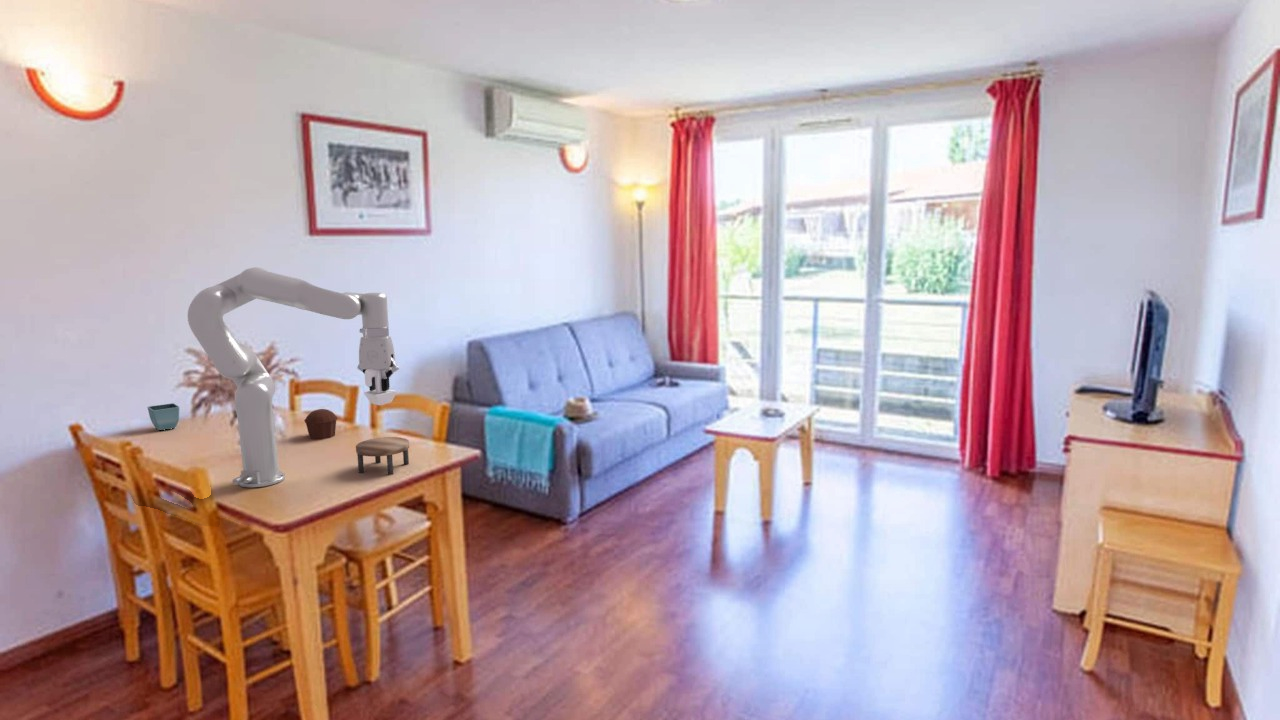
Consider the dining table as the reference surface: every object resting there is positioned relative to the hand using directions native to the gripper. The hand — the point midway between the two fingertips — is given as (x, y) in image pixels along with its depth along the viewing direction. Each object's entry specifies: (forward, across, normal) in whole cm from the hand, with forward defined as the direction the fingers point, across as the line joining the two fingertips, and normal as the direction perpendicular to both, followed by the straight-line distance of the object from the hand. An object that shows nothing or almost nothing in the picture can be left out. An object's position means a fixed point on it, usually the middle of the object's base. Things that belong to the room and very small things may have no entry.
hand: (379, 389), depth 221 cm
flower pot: (+26, -107, +28) cm, 114 cm away
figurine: (+4, 0, 0) cm, 4 cm away
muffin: (+26, -42, +30) cm, 58 cm away
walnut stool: (+26, 0, 0) cm, 26 cm away
